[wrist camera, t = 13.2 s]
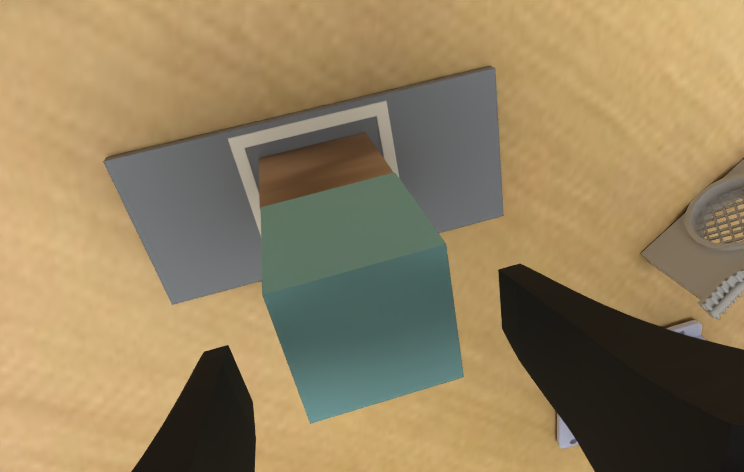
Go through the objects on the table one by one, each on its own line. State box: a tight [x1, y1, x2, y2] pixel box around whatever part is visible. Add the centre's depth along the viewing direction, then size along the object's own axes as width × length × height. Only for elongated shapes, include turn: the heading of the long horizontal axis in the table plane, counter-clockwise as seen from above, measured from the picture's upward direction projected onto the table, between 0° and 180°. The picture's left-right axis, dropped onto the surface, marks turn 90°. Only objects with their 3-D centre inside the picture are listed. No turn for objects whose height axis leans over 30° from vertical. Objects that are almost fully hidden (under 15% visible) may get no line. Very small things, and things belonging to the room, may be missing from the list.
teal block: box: [260, 172, 464, 424], centre depth 15 cm, size 4×4×5 cm
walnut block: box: [259, 132, 394, 207], centre depth 19 cm, size 4×4×5 cm
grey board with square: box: [103, 66, 503, 305], centre depth 22 cm, size 16×7×1 cm, turn 100°
